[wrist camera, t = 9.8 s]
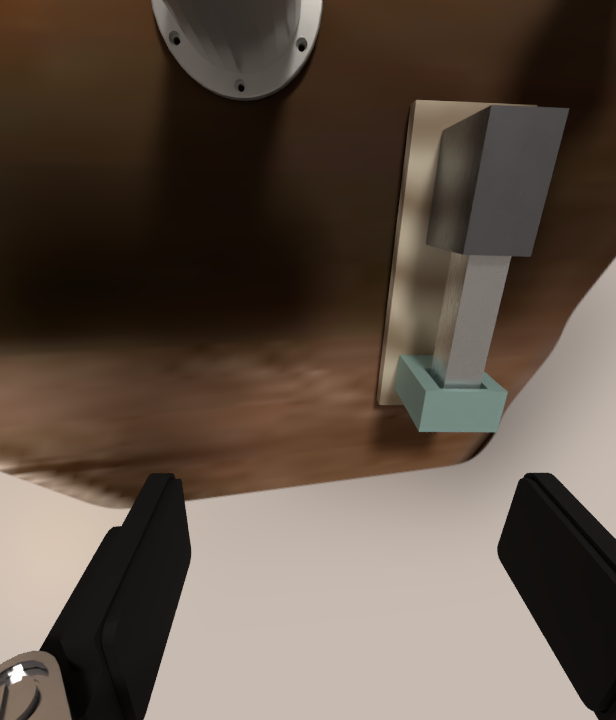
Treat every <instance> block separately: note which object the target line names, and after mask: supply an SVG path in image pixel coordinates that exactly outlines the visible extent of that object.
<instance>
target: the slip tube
mask: <svg viewBox="0 0 616 720" xmlns="http://www.w3.org/2000/svg"><path fill="white" fill-rule="evenodd" d="M510 260H511V256H485V255H461V254H458V253H454V252H452V254H451V259H450V265H449V271H448V276H447V282H446V288H445V293H444V299H443V305H442V310H441V316H440V322H439V327H438V333H437V339H436V344H435V350H434V356H433V361H432V367H431V372H430V377H431V378H432V379H433V380H434V382H435V383H436V384H437V385H438V387H439V388H440V389H480V385H481V381H482V377H483V373H484V368H485V364H486V360H487V356H488V352H489V348H490V343H491V339H492V335H493V331H494V327H495V323H496V318H497V314H498V310H499V306H500V302H501V298H502V293H503V289H504V285H505V281H506V277H507V273H508V268H509V264H510Z"/></svg>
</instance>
